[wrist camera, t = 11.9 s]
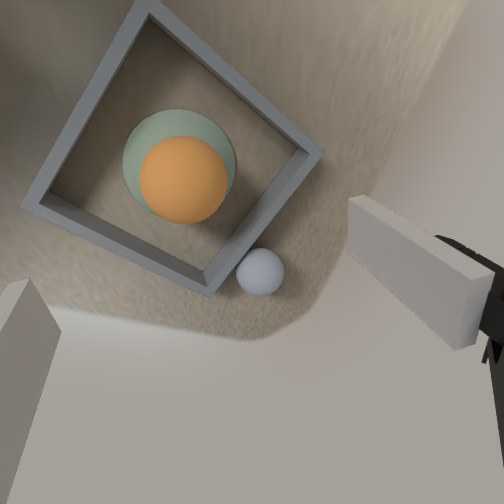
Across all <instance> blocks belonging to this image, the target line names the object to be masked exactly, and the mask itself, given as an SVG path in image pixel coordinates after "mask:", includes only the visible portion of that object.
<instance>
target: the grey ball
mask: <svg viewBox="0 0 504 504" xmlns="http://www.w3.org/2000/svg"><path fill="white" fill-rule="evenodd" d="M236 277H237V280H238V283H239V284H240V286H241V287H242V288H243V289H244V290H245V291H246V292H247V293H249V294H251V295H255V296H266V295H269V294H271V293H273V292H274V291H276V290H277V289H278V288H279V286H280V285H281V283H282V281H283V277H284V267H283V263H282V261H281V259H280V258H279V257H278V255H277V254H275V253H274V252H273V251H271V250H268V249H265V248H255V249H251V250H249V251H247V252H246V253H245V254H244V256H243V257H242V258H241V260H240V261H239V262H238V264H237V267H236Z"/></svg>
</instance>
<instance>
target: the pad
mask: <svg viewBox="0 0 504 504" xmlns="http://www.w3.org/2000/svg"><path fill="white" fill-rule="evenodd" d="M173 136H190V137H194V138H197V139H200V140H202V141H204V142H205V143H207V144H208V145H210V146H211V147H212V148H213V149H214V150H215V151H216V152H217V153H218V155H219V156H220V158H221V159H222V161H223V163H224V166H225V169H226V173H227V190H226V194H225V197H224V199H225V198H226V196H227V195H228V193H229V191H230V189H231V187H232V184H233V181H234V177H235V167H236V166H235V157H234V152H233V149H232V146H231V144H230V142H229V140H228V138H227V136H226V135H225V133H224V132H223V131H222V130H221V129H220V127H219V126H218V125H216V124H215V123H214V122H213V121H212V120H210V119H209V118H207V117H205V116H204V115H202V114H200V113H197V112H194V111H190V110H185V109H168V110H164V111H160V112H157V113H154V114H152V115H150V116H149V117H147V118H145V119H144V120H143V121H141V122H140V123H139V124H138V125H137V126H136V127H135V128H134V130H133V131H132V132H131V134H130V136H129V138H128V139H127V142H126V144H125V147H124V151H123V156H122V168H123V175H124V179H125V182H126V184H127V187H128V189H129V190H130V192H131V194H132V195H133V197H134V198H135V199H136V200H137V201H138V202H139V204H141V205H142V206H143V207H144V208H145V209H147V210H148V211H150V212H151V213H153V214H155V215H157V214H156V213H155V212H154V211H153V210H152V209H151V208H150V207H149V205H148V204H147V203H146V201H145V199H144V197H143V195H142V192H141V189H140V183H139V172H140V167H141V164H142V161H143V159H144V157H145V155H146V154H147V153H148V151H149V150H150V149H151V148H152V147H153V146H154V145H155V144H157V143H158V142H160V141H161V140H163V139H166V138H169V137H173ZM224 199H223V200H224ZM222 202H223V201H222ZM157 216H159V215H157Z"/></svg>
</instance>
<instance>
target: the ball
mask: <svg viewBox="0 0 504 504" xmlns="http://www.w3.org/2000/svg"><path fill="white" fill-rule="evenodd" d="M139 183H140V189H141V192H142V195H143V197H144V199H145V201H146V203H147V204H148V205H149V207H150V208H151V209H152V210H153V211H154V212H155V213H156V214H157V215H159V216H160V217H162V218H164V219H166V220H168V221H171V222H174V223H179V224H191V223H196V222H199V221H202V220H204V219H206V218H208V217H209V216H211V215H212V214H213V213H214V212H215V211H216V210H217V209H218V208H219V206H220V205H221V203H222V201H223V199H224V197H225V194H226V190H227V173H226V169H225V166H224V163H223V161H222V159H221V158H220V156H219V155H218V153H217V152H216V151H215V150H214V149H213V148H212V147H211V146H210V145H208V144H207V143H205V142H204V141H202V140H200V139H197V138H194V137H190V136H173V137H169V138H166V139H163V140H161V141H160V142H158V143H157V144H155V145H154V146H153V147H152V148H151V149H150V150H149V151H148V153H147V154H146V155H145V157H144V159H143V161H142V164H141V167H140V172H139Z"/></svg>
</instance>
